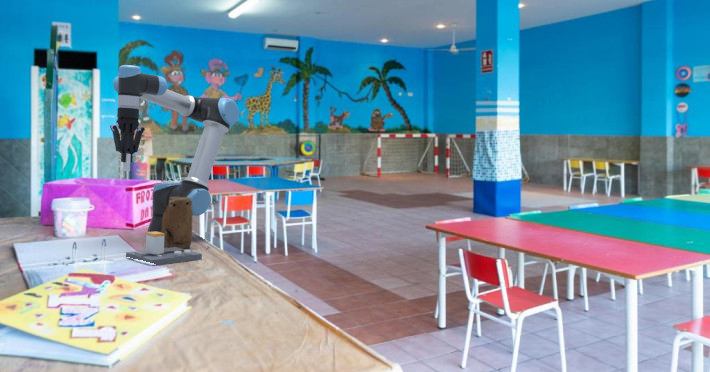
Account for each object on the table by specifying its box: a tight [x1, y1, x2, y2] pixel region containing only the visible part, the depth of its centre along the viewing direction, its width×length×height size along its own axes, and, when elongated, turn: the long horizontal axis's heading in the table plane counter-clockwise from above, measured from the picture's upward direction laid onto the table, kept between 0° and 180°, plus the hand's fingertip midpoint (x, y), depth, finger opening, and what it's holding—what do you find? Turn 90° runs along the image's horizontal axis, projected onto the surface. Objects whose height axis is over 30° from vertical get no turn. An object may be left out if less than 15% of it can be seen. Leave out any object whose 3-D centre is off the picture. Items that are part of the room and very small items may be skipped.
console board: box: [125, 247, 203, 266], centre depth 208 cm, size 20×16×4 cm
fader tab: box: [145, 231, 165, 254], centre depth 205 cm, size 4×5×7 cm
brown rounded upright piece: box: [161, 196, 193, 250], centre depth 228 cm, size 11×8×20 cm
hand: (126, 171), depth 219 cm, fingers closed
